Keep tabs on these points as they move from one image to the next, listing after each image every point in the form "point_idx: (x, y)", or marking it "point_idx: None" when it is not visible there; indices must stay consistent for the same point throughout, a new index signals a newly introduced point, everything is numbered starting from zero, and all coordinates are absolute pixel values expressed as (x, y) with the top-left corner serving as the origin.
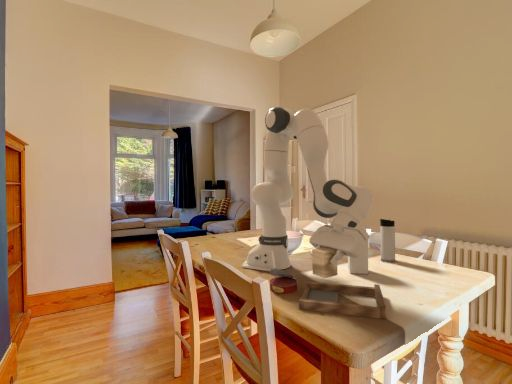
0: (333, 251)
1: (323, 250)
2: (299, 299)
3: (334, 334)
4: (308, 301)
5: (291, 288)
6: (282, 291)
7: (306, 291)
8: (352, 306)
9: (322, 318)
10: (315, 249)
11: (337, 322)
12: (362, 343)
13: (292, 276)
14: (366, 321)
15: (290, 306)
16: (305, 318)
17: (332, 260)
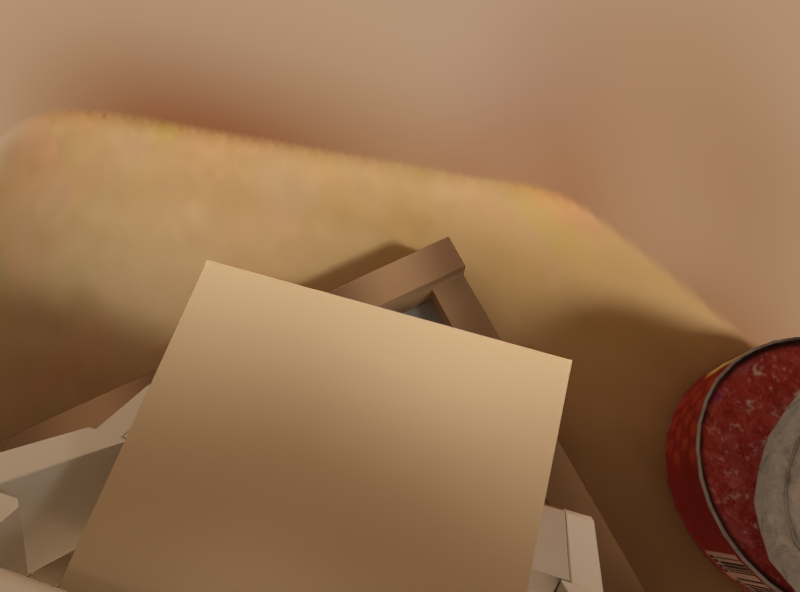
0: (88, 538)
1: (296, 418)
2: (458, 256)
3: (149, 162)
4: (389, 269)
5: (685, 431)
6: (714, 371)
7: (554, 476)
8: (98, 398)
9: (268, 254)
10: (500, 394)
11: (178, 269)
12: (15, 178)
13: (787, 495)
14: (34, 388)
15: (510, 255)
16: (345, 196)
17: (134, 399)
